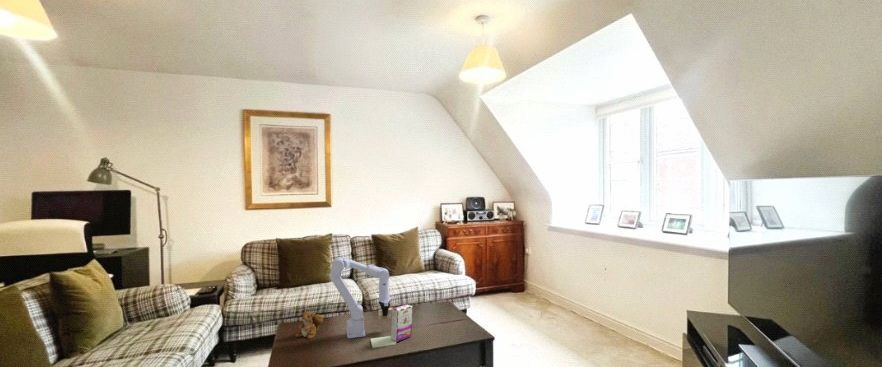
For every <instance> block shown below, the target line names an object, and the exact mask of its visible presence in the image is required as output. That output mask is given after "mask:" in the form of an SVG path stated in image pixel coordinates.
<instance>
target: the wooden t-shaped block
mask: <svg viewBox="0 0 882 367" xmlns="http://www.w3.org/2000/svg"><path fill="white" fill-rule="evenodd" d="M392 308H393V306H389V309H388V314H387V316H383V313H382V309H381V308H379V309H378V320H379V321H380V320H381V321H382V320H388V319H389V320H390V319H391V320H392Z"/></svg>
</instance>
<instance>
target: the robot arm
mask: <svg viewBox="0 0 882 367" xmlns="http://www.w3.org/2000/svg"><path fill="white" fill-rule="evenodd" d="M344 268H345V270H348V269H351V268H352V269H355V270H359V271H362V272H364V273H365V274H366V275H367V276H370V277H373V278H375V279H377V278H378V281H379V282H378V304H379V306H380V309H382V313H383V316H387V314H388V309H389V308H390V307H391V303H390V301H391V300H392V297H390V272H389V270H388V269H387V268H385V267H382V266H380V267H379V266H376V265H375V264H374V263H371V264H368V265H366V264H363V263H360V262H359V261H355V260H354V259H350V258H347V257H344V256H336V257H335V259H334V260H333V262H332V264H331V267H330V280H331V282H332V283H333V285H334V286H335V288H336V290H337V291H338V293H339V294H340V296H341V297H342V299H343V301H344V302H345V304H346V305H347V308H348V310H349V312H350V318H349V319H346V333H345V334H346V336H347V339H354V338H361V337H366V331H365V318H364V312H363V310H364V308H363V306H362V305H361V304H360V303H358V301H357V300H356V299H355V297H354V296H353V294H352V292H351V291H350V289H349V288H348V286H347V284H346V283H345V281H344V280H343V278H342V277H341V274H342V272H343V270H344Z"/></svg>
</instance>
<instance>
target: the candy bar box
mask: <svg viewBox="0 0 882 367" xmlns="http://www.w3.org/2000/svg"><path fill="white" fill-rule="evenodd" d="M413 310H414V307H413V306H412V305H410V304H404V305H399V306H397V307H396V306H395V307H392V318H391V328H390V329H391V330H390V331H391V332H390V333H391V334H390V336H391V340H393V341H396V343H397V342H401V341H403V340H405V339H408V338H410V337H412V332H413V329H412V328H413Z"/></svg>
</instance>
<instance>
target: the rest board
mask: <svg viewBox="0 0 882 367" xmlns="http://www.w3.org/2000/svg"><path fill="white" fill-rule="evenodd" d="M370 343H371V347H372V348H373V349H374V348H375V349H376V348H382V347H390V346H395V345H397V342H396V341H393V340H391V335H388V336H380V337H374V338H370Z"/></svg>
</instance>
